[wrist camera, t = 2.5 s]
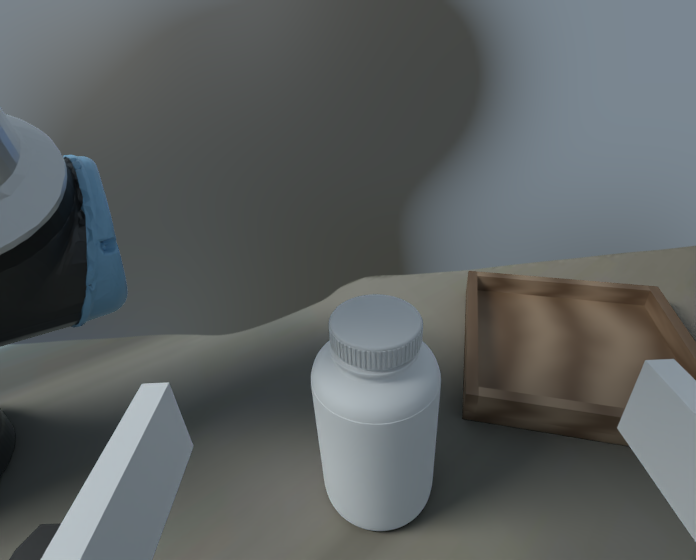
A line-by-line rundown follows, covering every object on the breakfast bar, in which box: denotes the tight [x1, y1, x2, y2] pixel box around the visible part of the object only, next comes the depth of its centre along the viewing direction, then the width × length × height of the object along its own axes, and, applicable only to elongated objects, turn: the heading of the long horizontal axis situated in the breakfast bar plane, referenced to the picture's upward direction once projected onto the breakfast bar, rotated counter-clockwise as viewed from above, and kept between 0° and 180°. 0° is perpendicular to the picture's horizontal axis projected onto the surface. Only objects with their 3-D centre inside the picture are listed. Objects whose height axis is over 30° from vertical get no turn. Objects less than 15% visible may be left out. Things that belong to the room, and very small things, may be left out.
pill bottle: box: [311, 294, 441, 531], centre depth 27 cm, size 8×8×15 cm
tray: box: [462, 271, 696, 446], centre depth 40 cm, size 20×20×3 cm
